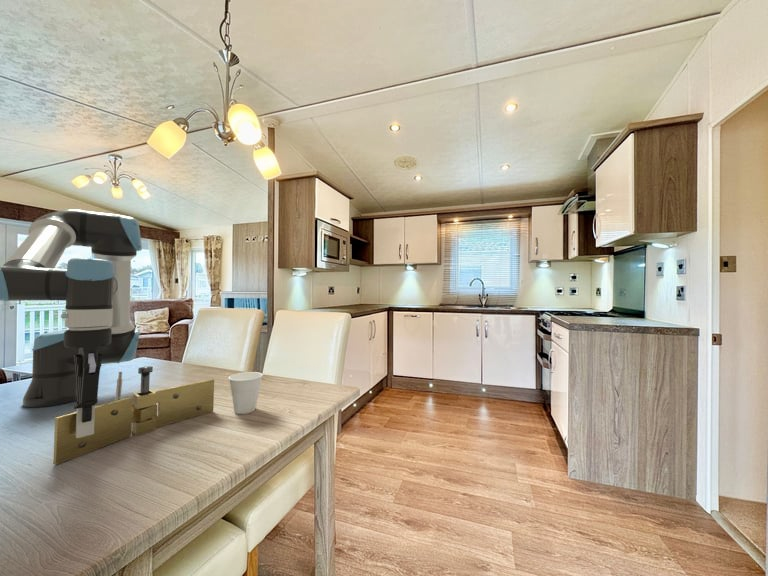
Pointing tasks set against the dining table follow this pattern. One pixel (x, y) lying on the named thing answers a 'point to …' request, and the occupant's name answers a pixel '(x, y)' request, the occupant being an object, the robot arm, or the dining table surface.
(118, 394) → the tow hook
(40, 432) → the dining table surface
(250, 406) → the cup
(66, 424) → the moving leaf
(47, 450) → the dining table surface
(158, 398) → the fixed leaf
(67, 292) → the robot arm
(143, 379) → the pin
